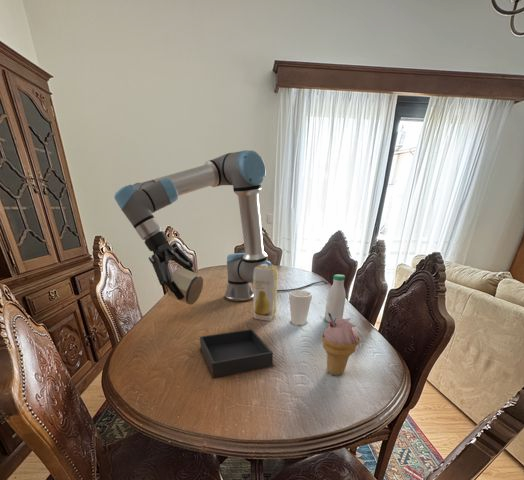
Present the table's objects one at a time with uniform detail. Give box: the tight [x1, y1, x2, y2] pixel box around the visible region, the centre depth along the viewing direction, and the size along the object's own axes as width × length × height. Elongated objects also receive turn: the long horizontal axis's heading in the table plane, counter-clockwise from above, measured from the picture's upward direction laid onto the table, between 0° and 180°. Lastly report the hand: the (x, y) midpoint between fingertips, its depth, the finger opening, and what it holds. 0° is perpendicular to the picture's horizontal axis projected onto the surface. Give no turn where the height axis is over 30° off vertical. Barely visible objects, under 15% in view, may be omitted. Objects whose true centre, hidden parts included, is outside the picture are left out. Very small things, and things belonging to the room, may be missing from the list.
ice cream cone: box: [321, 313, 361, 377], centre depth 86 cm, size 11×11×20 cm
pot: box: [167, 266, 204, 305], centre depth 105 cm, size 8×11×11 cm
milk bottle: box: [324, 273, 347, 323], centre depth 124 cm, size 8×8×20 cm
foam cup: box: [288, 289, 313, 326], centre depth 123 cm, size 10×9×13 cm
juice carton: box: [252, 264, 278, 322], centre depth 124 cm, size 9×8×24 cm
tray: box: [199, 328, 274, 378], centre depth 97 cm, size 20×20×5 cm
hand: (190, 291), depth 106 cm, fingers closed on pot, 11 cm apart
